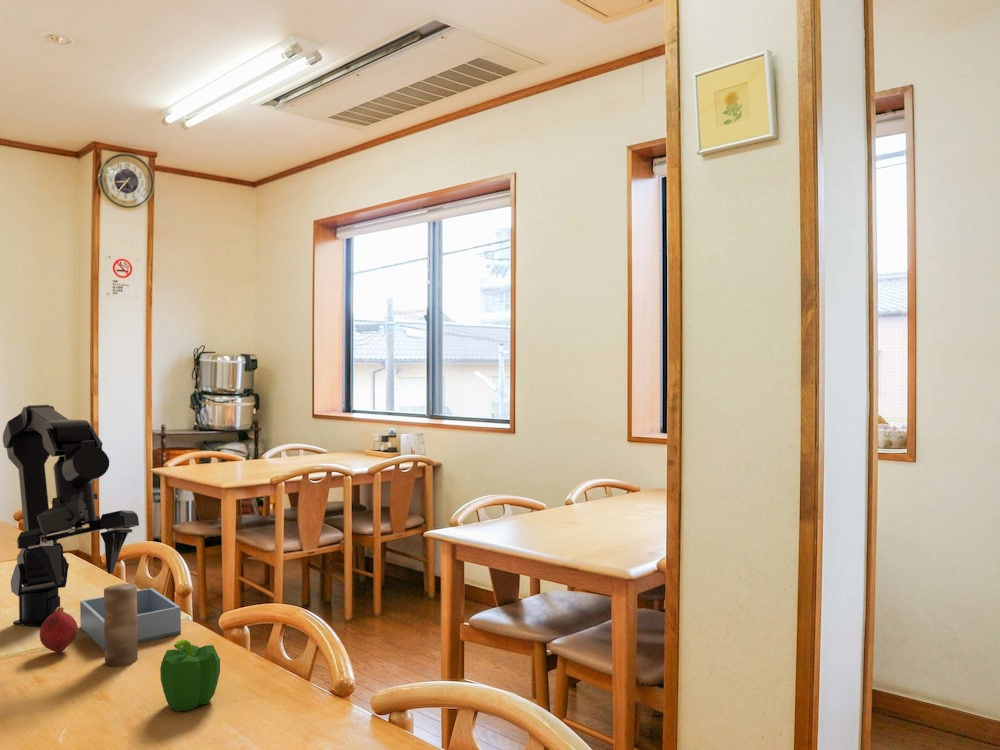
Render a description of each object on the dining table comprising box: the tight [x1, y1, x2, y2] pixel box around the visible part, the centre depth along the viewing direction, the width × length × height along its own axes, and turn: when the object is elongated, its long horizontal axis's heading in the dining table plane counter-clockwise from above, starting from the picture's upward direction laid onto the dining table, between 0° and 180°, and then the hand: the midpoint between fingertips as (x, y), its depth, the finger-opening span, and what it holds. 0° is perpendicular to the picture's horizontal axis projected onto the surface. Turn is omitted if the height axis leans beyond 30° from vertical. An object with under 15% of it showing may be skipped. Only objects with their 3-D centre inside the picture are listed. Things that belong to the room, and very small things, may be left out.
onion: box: [39, 606, 79, 654], centre depth 137 cm, size 6×6×8 cm
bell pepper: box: [159, 639, 221, 712], centre depth 115 cm, size 8×8×10 cm
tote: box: [79, 587, 182, 652], centre depth 148 cm, size 17×13×5 cm
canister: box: [103, 583, 139, 668], centre depth 132 cm, size 5×5×12 cm
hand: (84, 579), depth 135 cm, fingers open, 9 cm apart
